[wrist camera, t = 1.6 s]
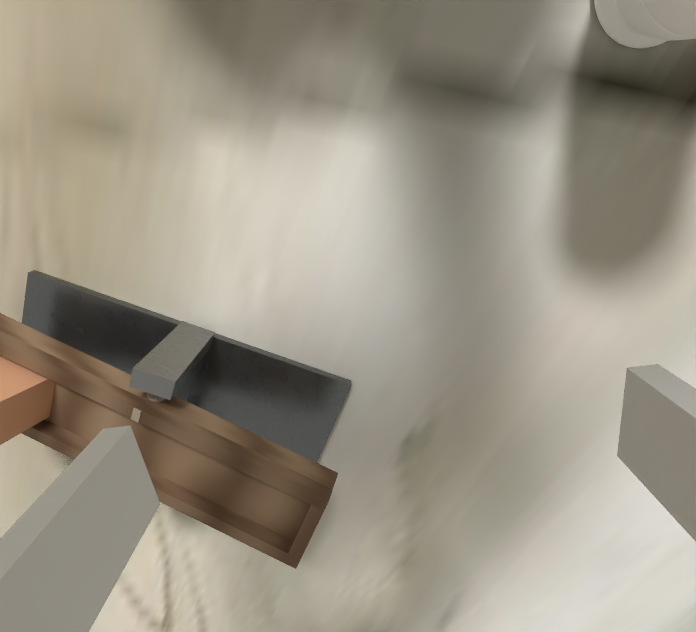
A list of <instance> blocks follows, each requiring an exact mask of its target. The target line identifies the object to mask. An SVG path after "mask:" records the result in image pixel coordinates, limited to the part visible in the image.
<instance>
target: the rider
mask: <svg viewBox="0 0 696 632" xmlns="http://www.w3.org/2000/svg"><path fill="white" fill-rule="evenodd" d="M54 387H55V381H53V380H50V379H48V378H46V377H44V376H42V375H40V374H38V373H36V372H34V371H32V370H30V369H28V368H26V367H23V366H21V365H19V364H17V363H15V362H13V361H11V360H9V359H7V358H5V357H3V356H1V355H0V445H1V444H3V443H4V442H6V441H8V440H10V439H11V438H13V437H15V436H17V435H18V434H20V433H22V432H24V431H25V430H27V429H29V428H30V427H32V426H34V425H36V424H37V423H39V422H41V421H43V420H44V419H46V418H48V417H50V411H51V405H52V399H53V393H54Z"/></svg>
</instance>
